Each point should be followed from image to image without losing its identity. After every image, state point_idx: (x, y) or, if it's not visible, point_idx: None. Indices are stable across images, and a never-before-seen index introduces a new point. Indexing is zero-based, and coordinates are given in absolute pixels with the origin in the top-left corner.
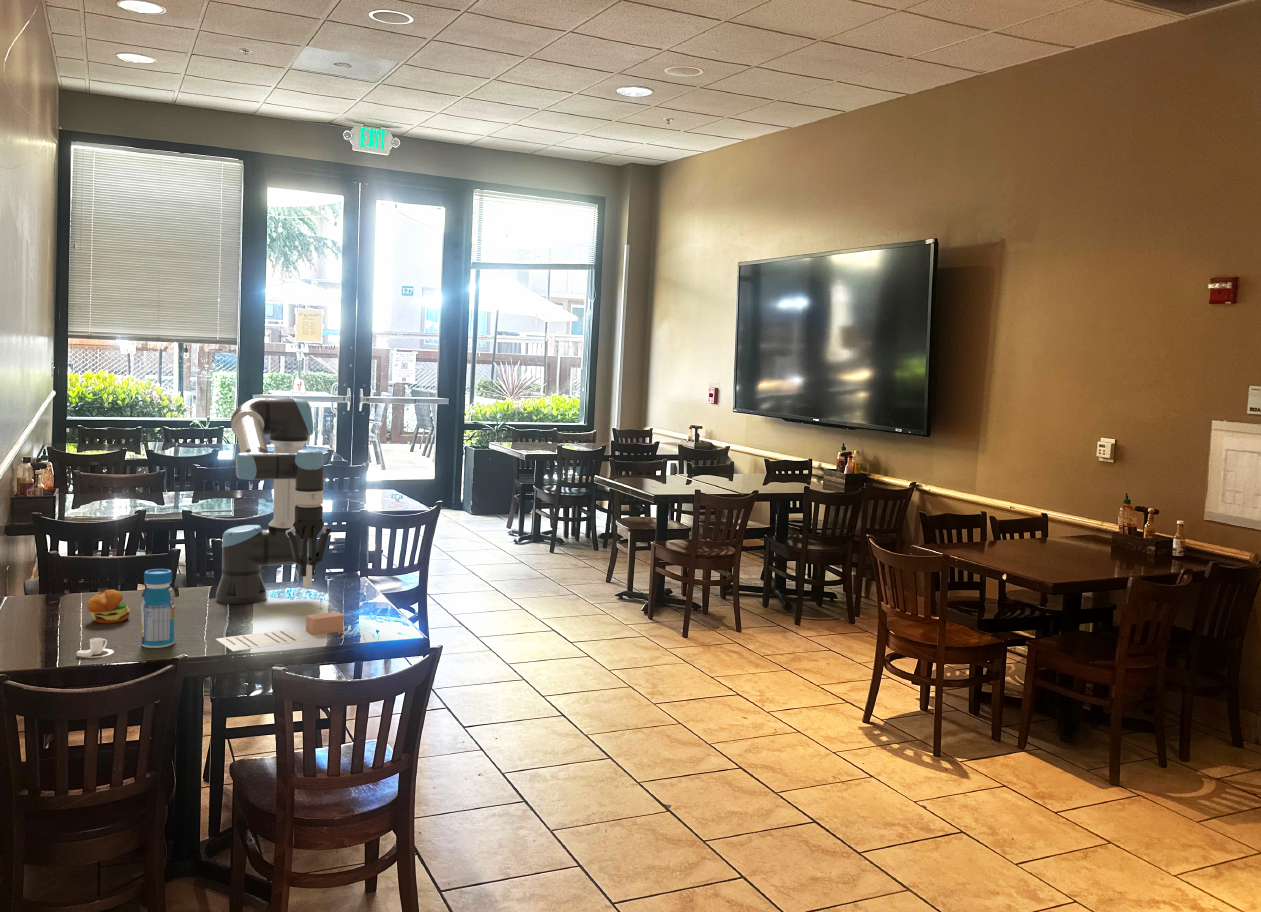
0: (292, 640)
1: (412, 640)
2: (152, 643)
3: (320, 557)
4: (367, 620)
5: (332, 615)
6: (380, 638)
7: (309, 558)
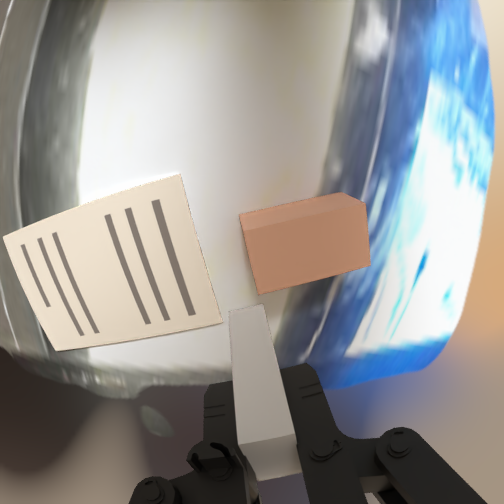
0: (184, 313)
1: (435, 350)
2: None
3: (396, 494)
4: (437, 143)
5: (336, 259)
6: (398, 329)
7: (312, 489)
